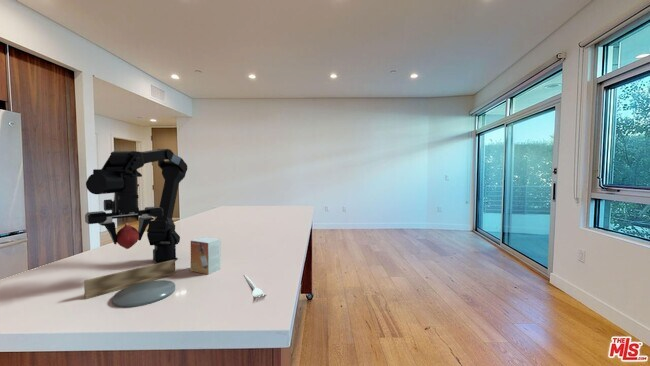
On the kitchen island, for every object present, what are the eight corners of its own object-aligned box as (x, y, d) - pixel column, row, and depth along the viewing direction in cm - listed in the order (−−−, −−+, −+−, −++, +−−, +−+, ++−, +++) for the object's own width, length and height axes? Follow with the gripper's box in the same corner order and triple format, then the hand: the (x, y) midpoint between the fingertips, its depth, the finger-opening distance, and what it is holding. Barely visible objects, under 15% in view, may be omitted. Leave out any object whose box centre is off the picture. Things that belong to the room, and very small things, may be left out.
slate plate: (164, 279, 82) (164, 276, 82) (183, 292, 73) (183, 289, 73) (107, 295, 71) (106, 292, 71) (120, 313, 62) (120, 309, 62)
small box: (190, 271, 88) (189, 240, 88) (203, 266, 94) (203, 236, 93) (208, 274, 85) (207, 242, 85) (221, 269, 91) (220, 238, 90)
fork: (249, 276, 86) (249, 270, 86) (269, 300, 69) (269, 293, 69) (239, 278, 85) (239, 272, 85) (256, 303, 67) (256, 295, 67)
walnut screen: (173, 272, 87) (173, 259, 87) (176, 274, 86) (175, 260, 86) (84, 296, 71) (83, 279, 70) (85, 299, 69) (85, 282, 69)
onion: (143, 247, 83) (143, 222, 83) (124, 252, 78) (124, 225, 78) (130, 245, 85) (130, 221, 85) (111, 250, 80) (110, 224, 80)
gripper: (152, 189, 93) (153, 233, 94) (80, 192, 79) (82, 243, 80) (163, 190, 86) (164, 238, 87) (87, 194, 72) (89, 250, 73)
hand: (127, 242), depth 82 cm, fingers closed on onion, 6 cm apart
